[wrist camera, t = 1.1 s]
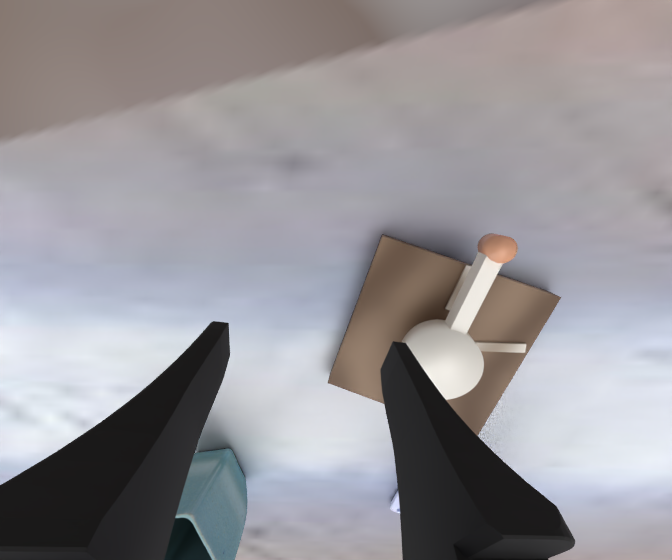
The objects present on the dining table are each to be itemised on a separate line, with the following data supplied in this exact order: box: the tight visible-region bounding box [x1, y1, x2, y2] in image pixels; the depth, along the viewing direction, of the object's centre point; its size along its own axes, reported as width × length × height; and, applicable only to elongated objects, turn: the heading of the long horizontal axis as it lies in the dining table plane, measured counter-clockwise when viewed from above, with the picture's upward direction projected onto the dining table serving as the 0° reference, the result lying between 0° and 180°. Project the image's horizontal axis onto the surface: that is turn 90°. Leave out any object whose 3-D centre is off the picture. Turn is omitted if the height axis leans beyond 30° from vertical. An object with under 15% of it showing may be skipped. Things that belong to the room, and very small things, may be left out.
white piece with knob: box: [402, 234, 518, 400], centre depth 21 cm, size 13×6×2 cm, turn 162°
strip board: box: [328, 234, 561, 436], centre depth 25 cm, size 15×15×3 cm
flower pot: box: [164, 449, 247, 560], centre depth 30 cm, size 9×9×9 cm
